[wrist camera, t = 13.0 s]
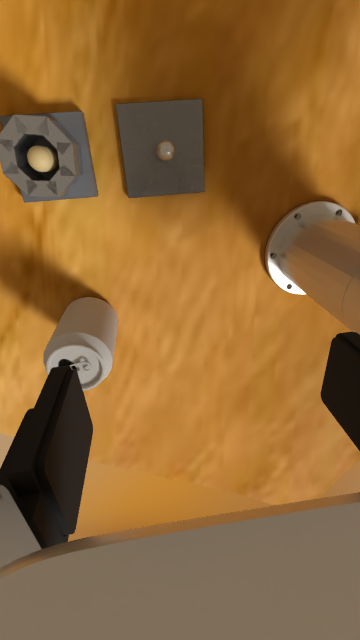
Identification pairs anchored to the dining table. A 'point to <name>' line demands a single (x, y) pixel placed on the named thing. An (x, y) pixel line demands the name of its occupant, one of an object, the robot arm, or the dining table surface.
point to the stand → (162, 147)
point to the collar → (15, 147)
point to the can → (84, 340)
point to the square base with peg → (46, 156)
